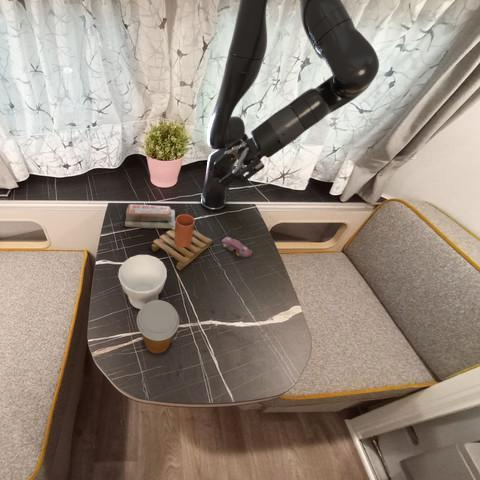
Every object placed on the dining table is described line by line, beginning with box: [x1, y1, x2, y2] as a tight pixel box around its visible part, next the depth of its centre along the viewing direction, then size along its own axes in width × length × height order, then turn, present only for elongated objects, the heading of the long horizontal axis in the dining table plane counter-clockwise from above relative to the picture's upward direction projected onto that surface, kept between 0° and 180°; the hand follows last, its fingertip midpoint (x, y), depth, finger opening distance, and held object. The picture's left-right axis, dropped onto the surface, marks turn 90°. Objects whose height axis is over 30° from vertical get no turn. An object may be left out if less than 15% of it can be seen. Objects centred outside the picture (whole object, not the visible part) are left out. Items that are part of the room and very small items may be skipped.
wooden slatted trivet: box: [151, 226, 213, 271], centre depth 90 cm, size 16×13×3 cm
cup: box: [117, 254, 168, 310], centre depth 73 cm, size 12×12×11 cm
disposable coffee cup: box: [136, 299, 180, 354], centre depth 64 cm, size 10×10×12 cm
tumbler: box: [173, 213, 196, 248], centre depth 86 cm, size 6×6×9 cm
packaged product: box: [124, 203, 176, 230], centre depth 99 cm, size 18×5×10 cm
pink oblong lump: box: [221, 236, 253, 258], centre depth 88 cm, size 10×5×7 cm, turn 47°
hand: (218, 175), depth 70 cm, fingers open, 8 cm apart
